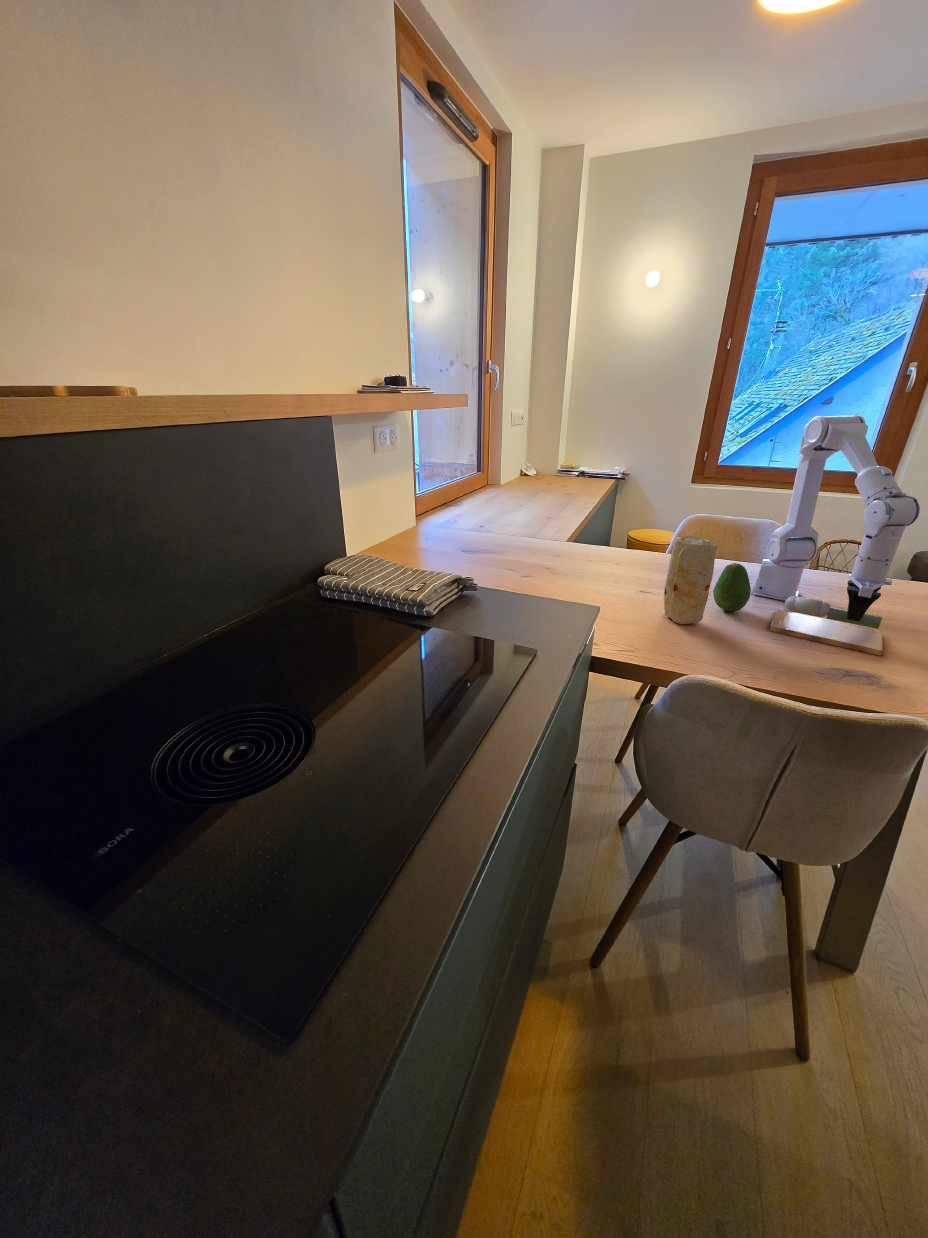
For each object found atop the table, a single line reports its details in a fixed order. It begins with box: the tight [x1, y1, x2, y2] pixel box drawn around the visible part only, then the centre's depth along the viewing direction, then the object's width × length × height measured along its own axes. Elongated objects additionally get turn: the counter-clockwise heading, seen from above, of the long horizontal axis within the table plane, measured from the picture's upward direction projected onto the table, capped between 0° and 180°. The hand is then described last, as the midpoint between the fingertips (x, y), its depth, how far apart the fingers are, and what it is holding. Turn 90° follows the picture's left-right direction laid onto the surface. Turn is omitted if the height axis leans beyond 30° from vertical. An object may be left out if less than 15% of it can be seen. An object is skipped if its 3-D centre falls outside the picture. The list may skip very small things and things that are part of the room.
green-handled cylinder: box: [784, 595, 883, 630], centre depth 108 cm, size 17×4×4 cm, turn 53°
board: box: [769, 608, 883, 656], centre depth 110 cm, size 20×11×1 cm, turn 53°
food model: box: [663, 535, 718, 625], centre depth 113 cm, size 10×7×20 cm
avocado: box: [712, 562, 752, 612], centre depth 119 cm, size 8×8×12 cm
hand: (853, 617), depth 106 cm, fingers closed on green-handled cylinder, 2 cm apart
